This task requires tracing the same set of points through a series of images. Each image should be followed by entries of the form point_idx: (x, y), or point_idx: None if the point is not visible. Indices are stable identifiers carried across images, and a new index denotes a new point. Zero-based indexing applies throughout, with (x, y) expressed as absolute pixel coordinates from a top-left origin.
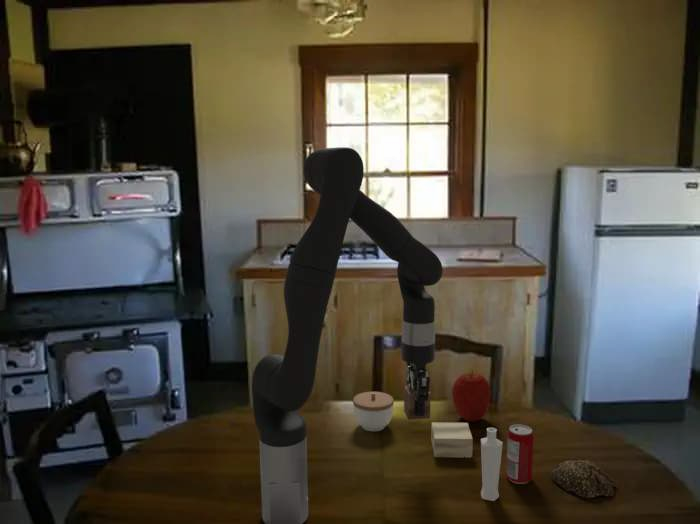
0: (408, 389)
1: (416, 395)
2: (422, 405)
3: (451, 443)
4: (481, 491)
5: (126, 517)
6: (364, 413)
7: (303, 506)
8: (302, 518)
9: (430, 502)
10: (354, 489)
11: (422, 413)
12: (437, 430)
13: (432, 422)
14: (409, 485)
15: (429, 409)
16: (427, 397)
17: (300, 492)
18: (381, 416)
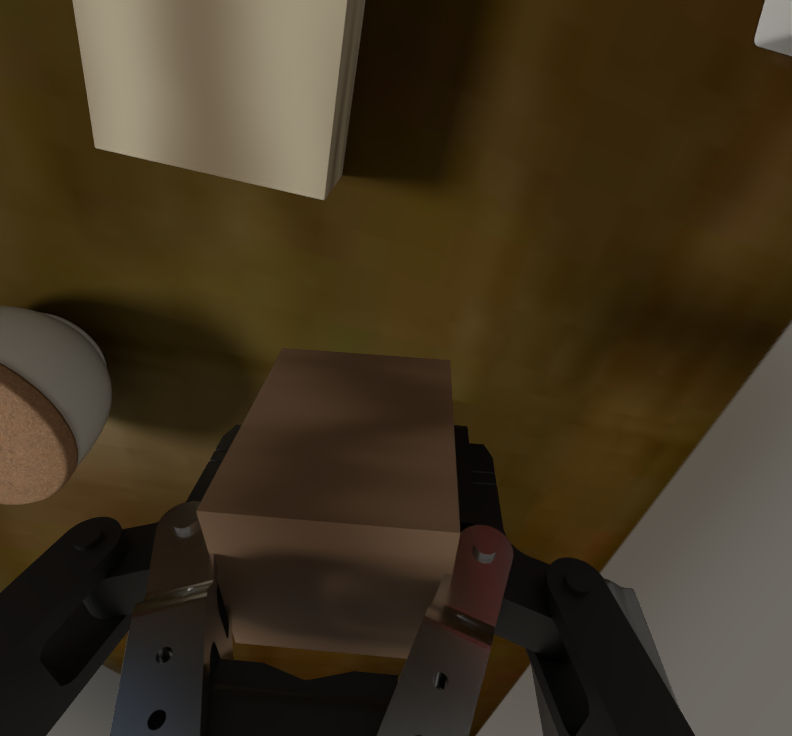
0: (316, 640)
1: (535, 666)
2: (497, 514)
3: (341, 83)
4: (774, 44)
5: (478, 728)
6: (84, 455)
7: (631, 624)
8: (623, 598)
9: (691, 303)
10: (510, 482)
11: (486, 458)
12: (214, 145)
13: (96, 142)
14: (547, 341)
15: (450, 409)
16: (615, 610)
17: (669, 684)
18: (78, 388)
